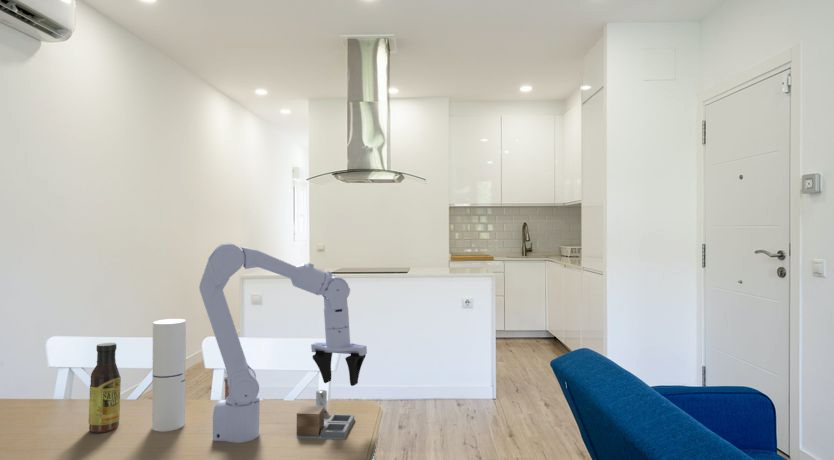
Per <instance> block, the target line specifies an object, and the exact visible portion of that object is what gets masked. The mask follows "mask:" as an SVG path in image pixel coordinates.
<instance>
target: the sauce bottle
mask: <svg viewBox="0 0 834 460" xmlns="http://www.w3.org/2000/svg"><path fill="white" fill-rule="evenodd" d="M116 350H117V343H116V342H105V343H104V342H103V343H98V344H97V345H96V352H97V354H96V356H97V357H96V358H97V359H96V365H95V367H94V368H93V370H92V371H91V373H90V385H89V399H88V400H89V401H88V403H89V406H88V424H89V427H88V429H89V432H91V433H97V434H98V433H104V432H110V431H112V430H115V429H116V428H118V426H119V425H120V418H121V417H120V414H121V385H122V384H121V379H122V378H121V375H120V372H119V368H118V365H117V361H116Z"/></svg>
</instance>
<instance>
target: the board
mask: <svg viewBox="0 0 834 460" xmlns="http://www.w3.org/2000/svg"><path fill="white" fill-rule="evenodd" d="M354 421H355V414H349V413H348V414H347V413H346V414H345V413H332V414H331V416H330V417H328V418H324V427H323V429H322V430H321V434H320V435H319V437H318V436H297V435H295V439H319V440H323V439H324V440H345V439H346V437H347V435H348V434H349V431H350V429H351V427H352V426H353V424H354Z"/></svg>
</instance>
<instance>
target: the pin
mask: <svg viewBox="0 0 834 460" xmlns="http://www.w3.org/2000/svg"><path fill="white" fill-rule="evenodd" d="M315 392H316V393H315V406H323V407H324V414H325V413H326V412H327V407H328V405H327V398H328V397H327V395H328V394H327V393H328V392H327V390H325V389H319V390H317V391H315Z"/></svg>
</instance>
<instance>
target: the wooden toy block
mask: <svg viewBox="0 0 834 460" xmlns="http://www.w3.org/2000/svg"><path fill="white" fill-rule="evenodd" d="M324 419H325V413H324V407H323V406H316V405H313V406H311V405H303V406H302V407H300V408H299V410H298V411H297V412H296V436H318V437H319V435H320V434H321V430H322V429H323V427H324Z"/></svg>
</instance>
